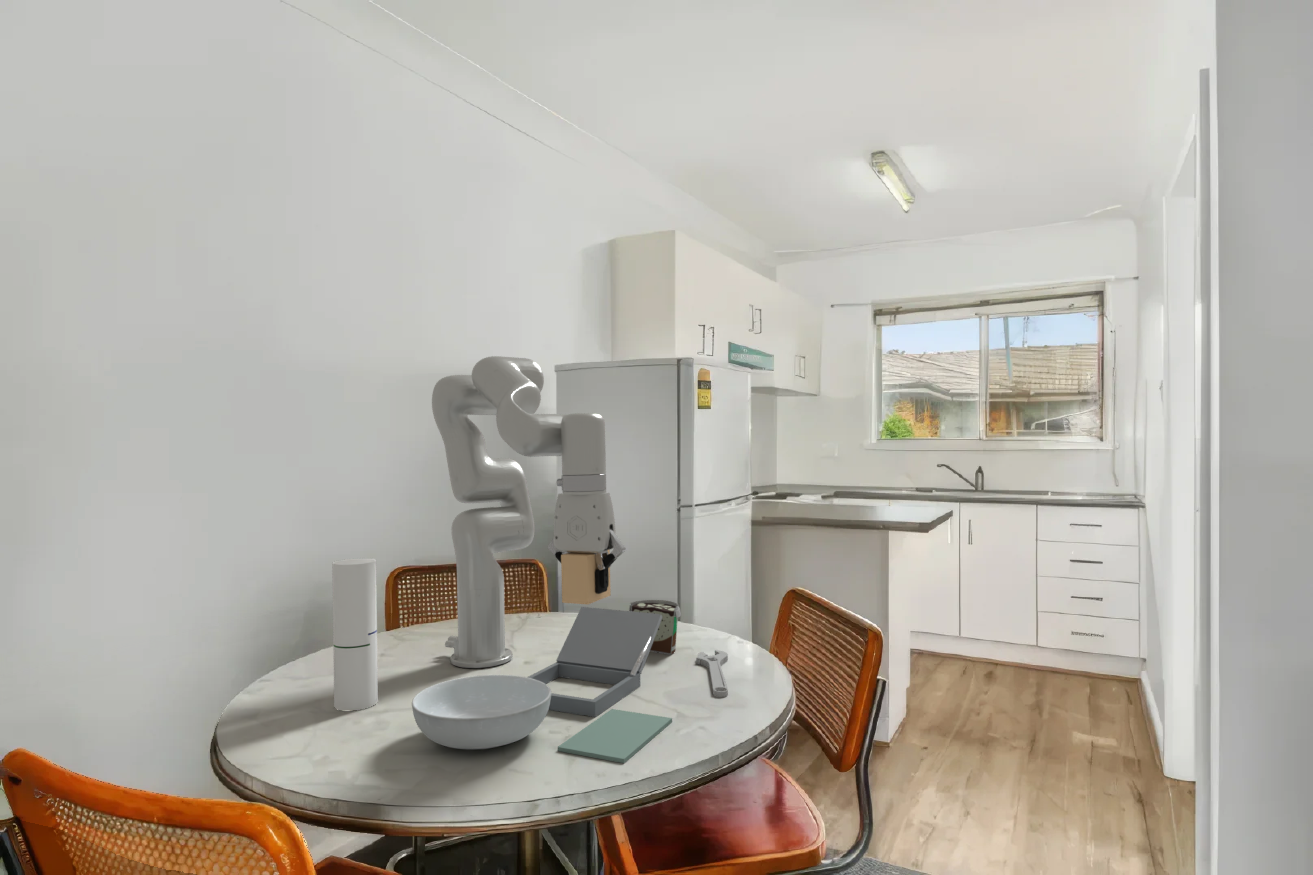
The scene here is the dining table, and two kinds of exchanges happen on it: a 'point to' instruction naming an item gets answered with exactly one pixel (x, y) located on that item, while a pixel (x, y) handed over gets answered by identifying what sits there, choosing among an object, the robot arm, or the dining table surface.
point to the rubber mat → (615, 735)
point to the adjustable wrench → (715, 671)
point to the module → (580, 578)
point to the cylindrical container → (355, 633)
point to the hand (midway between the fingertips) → (586, 590)
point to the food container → (668, 624)
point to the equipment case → (602, 657)
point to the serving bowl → (481, 710)
